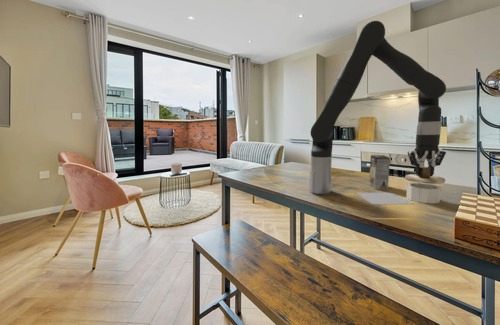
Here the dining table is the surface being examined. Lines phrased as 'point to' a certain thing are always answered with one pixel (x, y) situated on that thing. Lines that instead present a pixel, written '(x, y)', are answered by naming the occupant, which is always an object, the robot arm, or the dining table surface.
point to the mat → (383, 198)
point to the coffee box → (379, 172)
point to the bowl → (423, 193)
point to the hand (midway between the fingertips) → (424, 175)
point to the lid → (425, 177)
